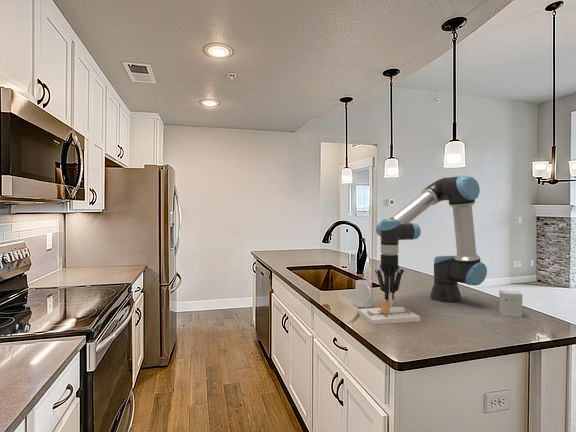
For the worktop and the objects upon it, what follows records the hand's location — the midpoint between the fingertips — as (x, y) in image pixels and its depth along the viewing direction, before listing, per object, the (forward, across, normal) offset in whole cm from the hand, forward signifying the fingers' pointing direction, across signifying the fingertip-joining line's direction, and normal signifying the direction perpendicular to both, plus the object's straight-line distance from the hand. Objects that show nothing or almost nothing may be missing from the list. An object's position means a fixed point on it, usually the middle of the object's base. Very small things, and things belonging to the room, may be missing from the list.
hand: (389, 306), depth 156 cm
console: (+5, 0, -1) cm, 5 cm away
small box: (+5, -56, +6) cm, 57 cm away
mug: (+5, +3, -20) cm, 21 cm away
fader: (+3, +2, 0) cm, 4 cm away
